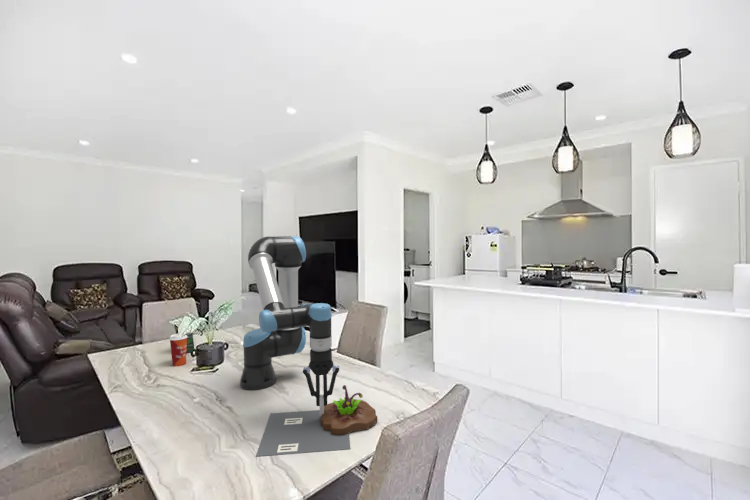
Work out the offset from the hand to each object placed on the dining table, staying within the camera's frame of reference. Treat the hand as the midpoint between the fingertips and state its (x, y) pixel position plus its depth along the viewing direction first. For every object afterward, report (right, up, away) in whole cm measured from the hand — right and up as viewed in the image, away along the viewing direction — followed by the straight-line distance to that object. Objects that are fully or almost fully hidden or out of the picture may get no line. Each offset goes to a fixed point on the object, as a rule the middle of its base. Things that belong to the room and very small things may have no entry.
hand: (322, 414), depth 129 cm
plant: (+9, -2, +1) cm, 9 cm away
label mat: (-4, -2, -6) cm, 8 cm away
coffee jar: (-88, 0, +77) cm, 117 cm away
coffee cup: (-81, 0, +57) cm, 99 cm away
